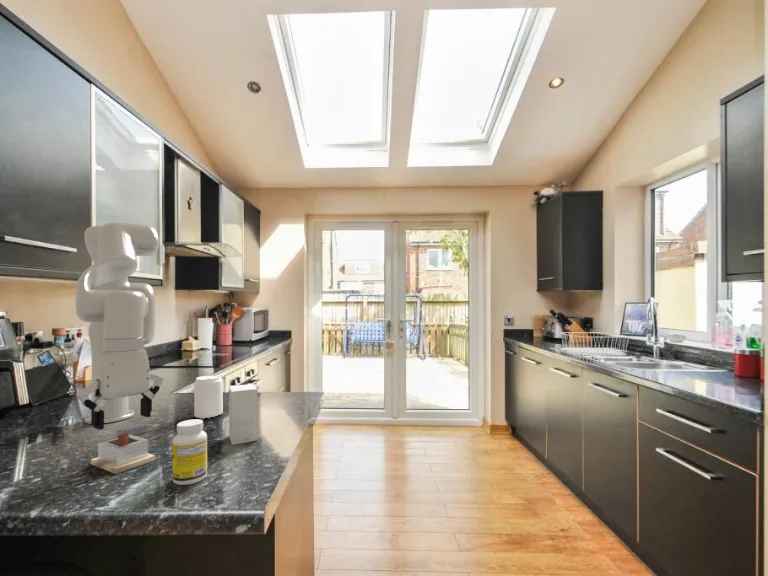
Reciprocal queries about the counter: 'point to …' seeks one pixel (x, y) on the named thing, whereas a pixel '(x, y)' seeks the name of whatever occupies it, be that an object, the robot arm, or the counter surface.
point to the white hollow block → (122, 450)
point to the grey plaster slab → (133, 429)
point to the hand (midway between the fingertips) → (123, 422)
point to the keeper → (124, 440)
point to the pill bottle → (189, 453)
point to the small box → (243, 414)
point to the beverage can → (208, 396)
